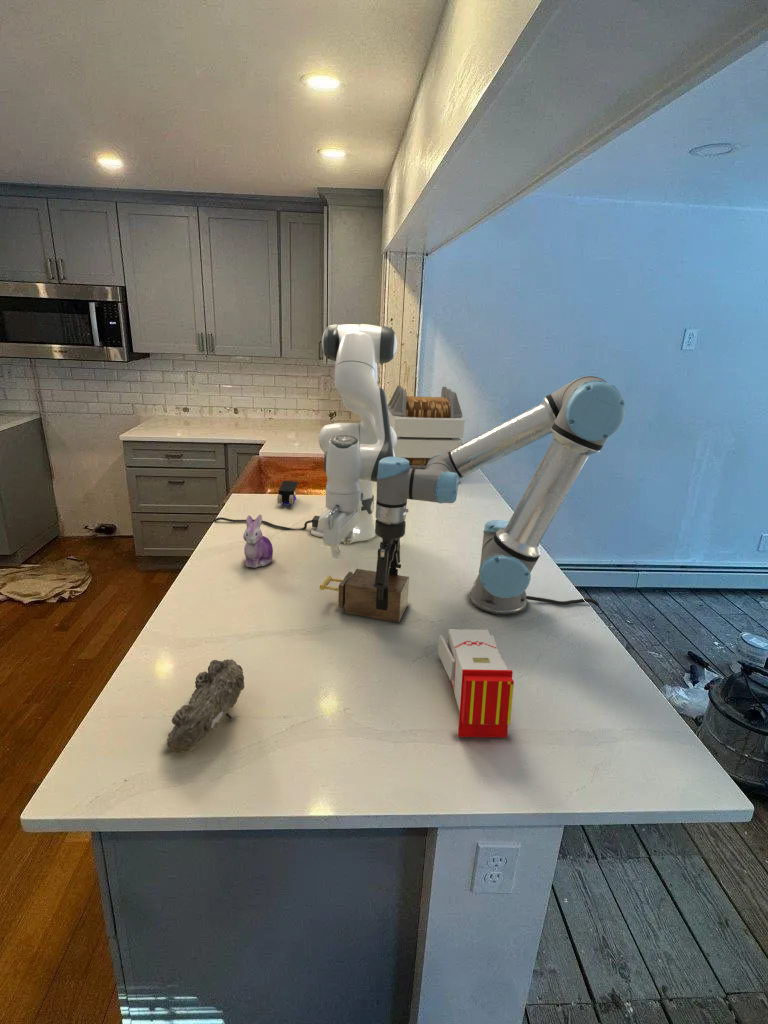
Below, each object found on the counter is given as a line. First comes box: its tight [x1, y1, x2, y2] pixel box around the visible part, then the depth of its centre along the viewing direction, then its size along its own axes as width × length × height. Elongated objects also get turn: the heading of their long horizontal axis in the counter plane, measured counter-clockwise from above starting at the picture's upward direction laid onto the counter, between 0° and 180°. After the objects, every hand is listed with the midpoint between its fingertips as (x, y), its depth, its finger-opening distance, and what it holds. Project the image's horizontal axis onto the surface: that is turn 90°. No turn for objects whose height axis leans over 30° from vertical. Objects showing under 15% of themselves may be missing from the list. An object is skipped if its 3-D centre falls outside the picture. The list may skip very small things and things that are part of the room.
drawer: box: [319, 571, 354, 609], centre depth 149 cm, size 19×8×7 cm, turn 75°
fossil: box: [166, 658, 245, 754], centre depth 106 cm, size 22×10×15 cm
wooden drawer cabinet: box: [344, 568, 410, 623], centre depth 148 cm, size 14×10×8 cm, turn 75°
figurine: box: [242, 514, 274, 569], centre depth 170 cm, size 9×10×15 cm
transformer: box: [387, 384, 465, 484], centre depth 268 cm, size 34×33×41 cm
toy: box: [437, 628, 515, 738], centre depth 117 cm, size 12×13×30 cm
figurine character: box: [276, 480, 299, 509], centre depth 224 cm, size 7×8×15 cm
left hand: (341, 549), depth 149 cm, fingers open, 8 cm apart
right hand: (386, 599), depth 148 cm, fingers closed on wooden drawer cabinet, 10 cm apart
